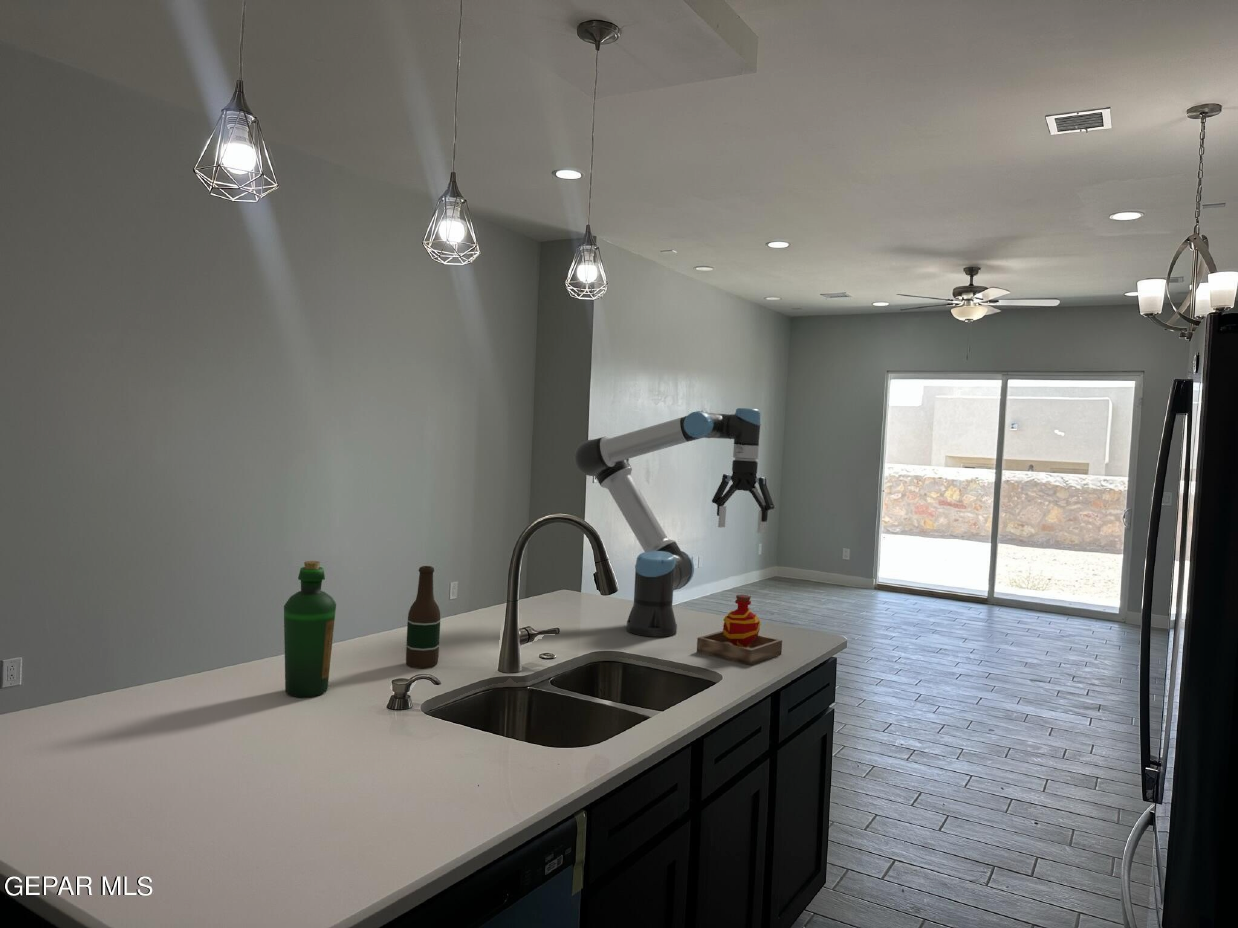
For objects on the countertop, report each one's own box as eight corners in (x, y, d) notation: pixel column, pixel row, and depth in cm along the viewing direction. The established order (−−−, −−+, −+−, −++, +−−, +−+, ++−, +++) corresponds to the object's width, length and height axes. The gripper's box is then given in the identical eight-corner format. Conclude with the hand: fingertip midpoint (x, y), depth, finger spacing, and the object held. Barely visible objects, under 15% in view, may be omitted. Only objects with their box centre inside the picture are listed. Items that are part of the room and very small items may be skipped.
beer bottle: (421, 658, 214) (426, 562, 213) (444, 664, 210) (449, 567, 209) (398, 664, 208) (403, 566, 207) (422, 670, 204) (427, 570, 203)
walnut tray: (696, 651, 236) (697, 637, 236) (728, 642, 249) (729, 628, 249) (750, 665, 226) (751, 650, 225) (781, 654, 239) (782, 640, 239)
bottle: (343, 691, 185) (349, 562, 184) (302, 703, 176) (308, 568, 175) (310, 681, 191) (315, 556, 190) (269, 692, 182) (274, 561, 180)
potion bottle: (761, 655, 232) (765, 600, 231) (723, 653, 232) (726, 598, 232) (756, 646, 243) (759, 593, 242) (719, 643, 243) (722, 591, 242)
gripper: (703, 456, 263) (699, 525, 264) (776, 462, 248) (771, 535, 249) (716, 457, 269) (712, 524, 270) (788, 462, 254) (783, 534, 254)
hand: (740, 529), depth 259 cm, fingers open, 13 cm apart
